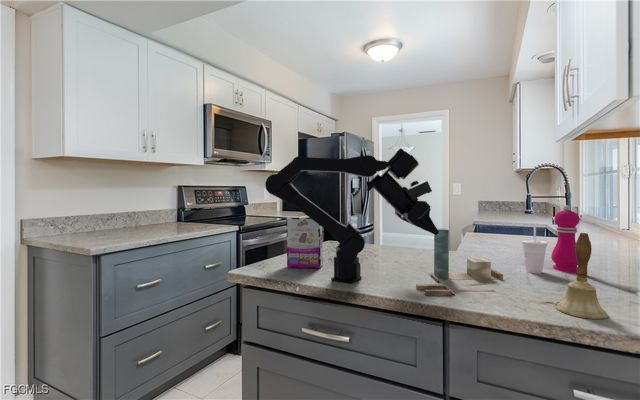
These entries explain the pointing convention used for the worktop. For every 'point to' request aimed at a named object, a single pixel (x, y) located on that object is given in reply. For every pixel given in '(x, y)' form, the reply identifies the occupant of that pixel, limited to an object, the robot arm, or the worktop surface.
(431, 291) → the broken lane
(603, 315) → the hand bell
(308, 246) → the candy bar box
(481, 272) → the maple block
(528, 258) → the smoothie
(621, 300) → the worktop surface
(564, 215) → the pepper mill
